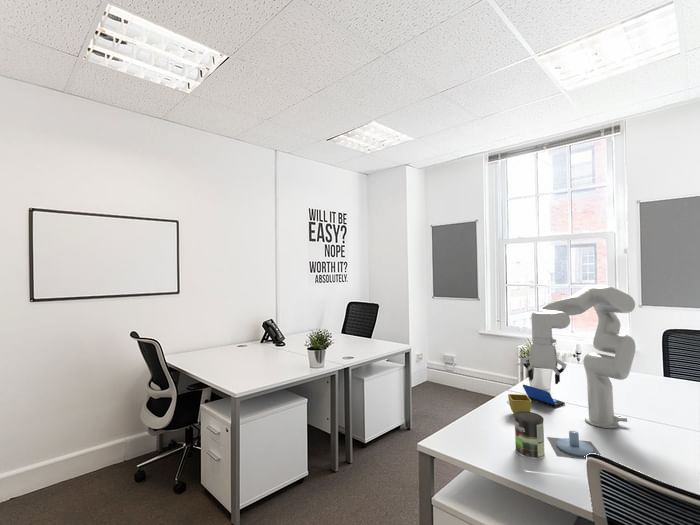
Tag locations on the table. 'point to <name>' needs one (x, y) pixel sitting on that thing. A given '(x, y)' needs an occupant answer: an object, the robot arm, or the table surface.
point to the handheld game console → (542, 396)
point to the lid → (574, 445)
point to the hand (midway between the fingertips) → (543, 381)
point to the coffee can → (529, 434)
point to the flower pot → (519, 403)
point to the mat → (563, 454)
